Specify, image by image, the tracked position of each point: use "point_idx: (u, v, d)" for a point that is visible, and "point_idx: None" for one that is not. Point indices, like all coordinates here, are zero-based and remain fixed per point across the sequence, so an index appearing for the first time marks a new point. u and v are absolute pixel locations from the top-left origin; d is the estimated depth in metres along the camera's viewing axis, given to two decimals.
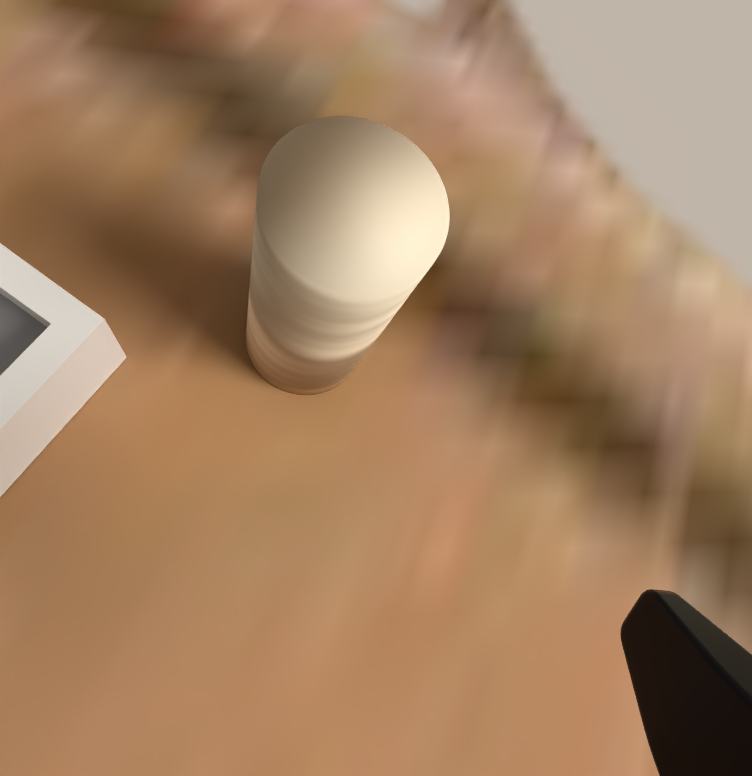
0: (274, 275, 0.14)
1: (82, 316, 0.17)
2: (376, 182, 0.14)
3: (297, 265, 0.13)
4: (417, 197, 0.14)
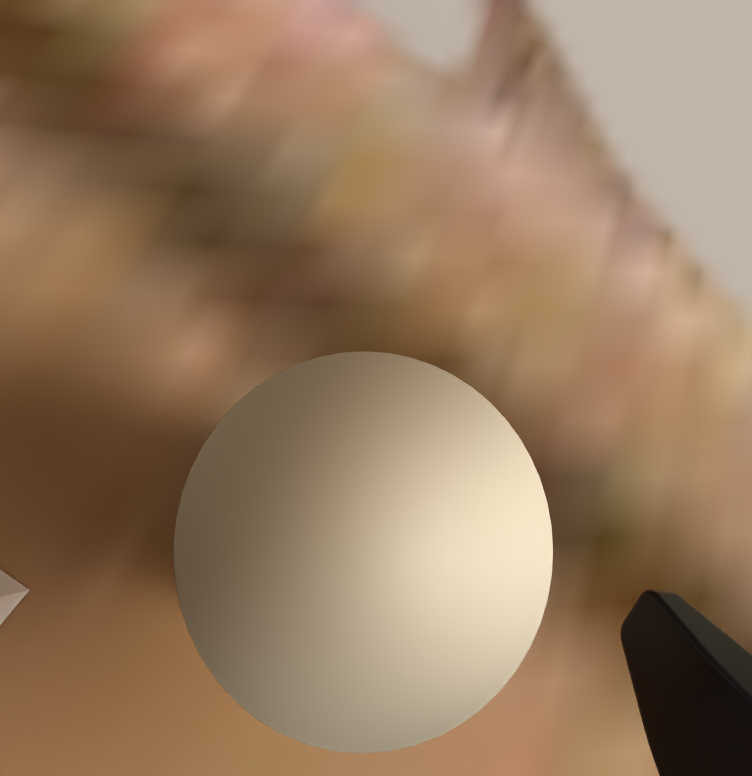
0: None
1: None
2: (412, 489, 0.07)
3: (255, 705, 0.06)
4: (491, 509, 0.07)
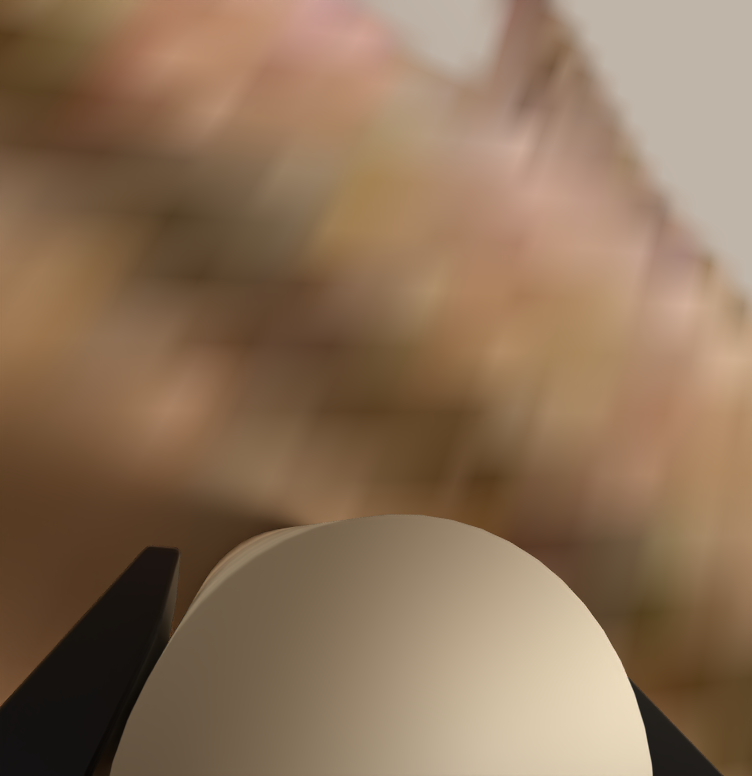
0: None
1: None
2: (455, 724, 0.05)
3: None
4: (568, 745, 0.05)
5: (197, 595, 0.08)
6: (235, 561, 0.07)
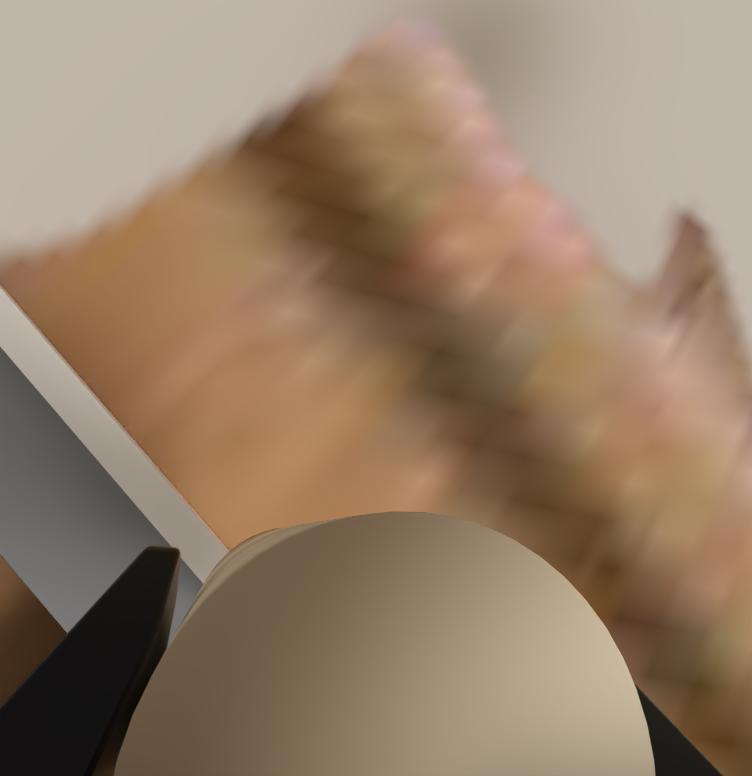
0: None
1: None
2: (458, 719, 0.05)
3: None
4: (571, 742, 0.05)
5: (200, 593, 0.08)
6: (238, 559, 0.07)
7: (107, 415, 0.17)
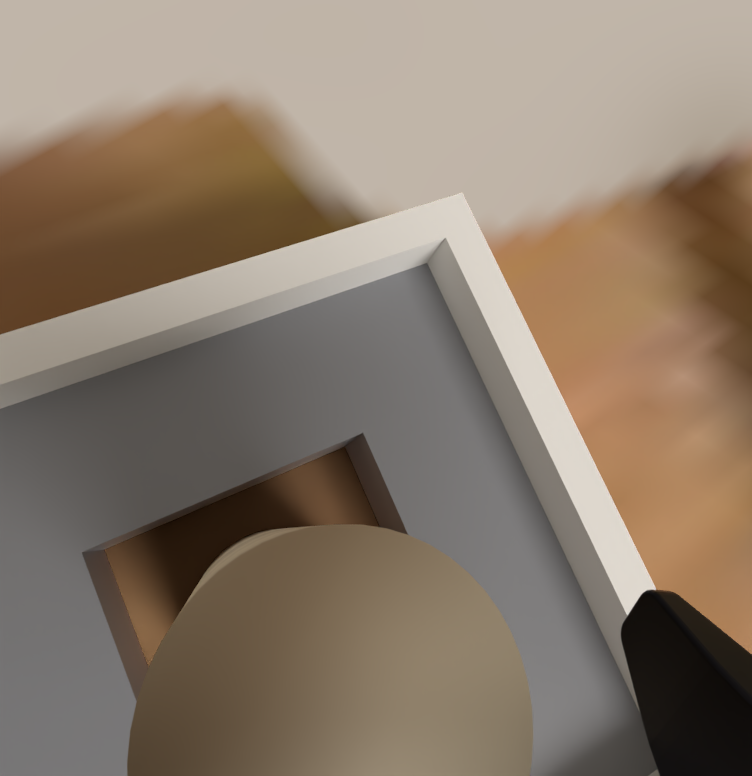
0: None
1: None
2: (384, 677, 0.07)
3: None
4: (469, 694, 0.07)
5: (196, 586, 0.10)
6: (226, 558, 0.09)
7: (585, 446, 0.15)
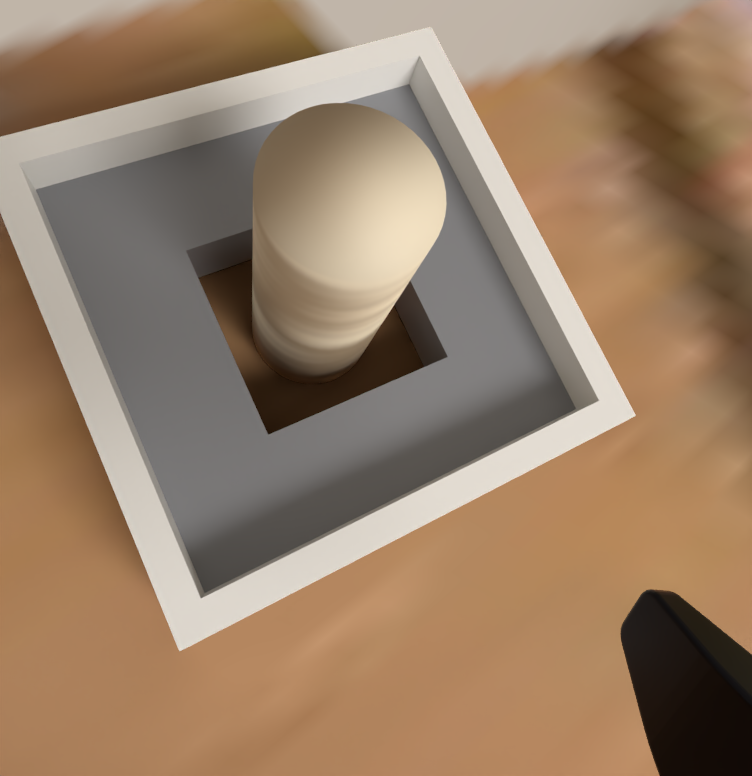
0: (273, 264, 0.14)
1: (622, 405, 0.21)
2: (371, 169, 0.14)
3: (294, 253, 0.13)
4: (413, 182, 0.14)
5: None
6: None
7: (517, 191, 0.22)
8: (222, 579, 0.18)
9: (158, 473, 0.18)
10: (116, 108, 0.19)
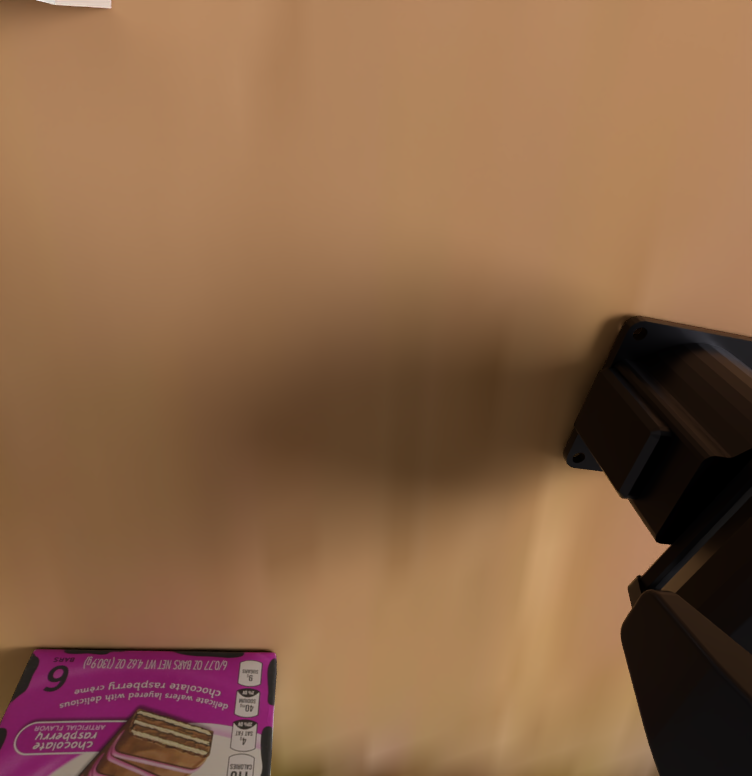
0: None
1: None
2: None
3: None
4: None
5: None
6: None
7: None
8: None
9: None
10: None
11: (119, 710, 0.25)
